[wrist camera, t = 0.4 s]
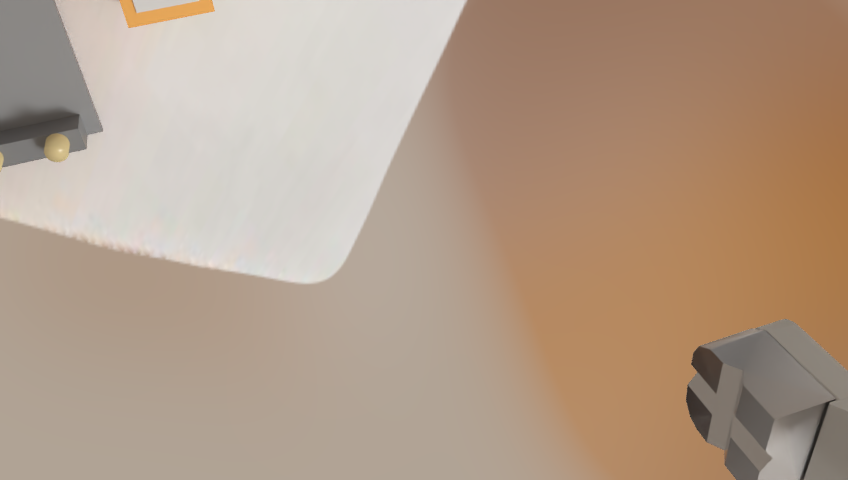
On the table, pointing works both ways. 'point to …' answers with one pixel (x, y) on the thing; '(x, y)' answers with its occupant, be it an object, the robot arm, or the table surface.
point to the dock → (40, 86)
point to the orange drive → (162, 10)
